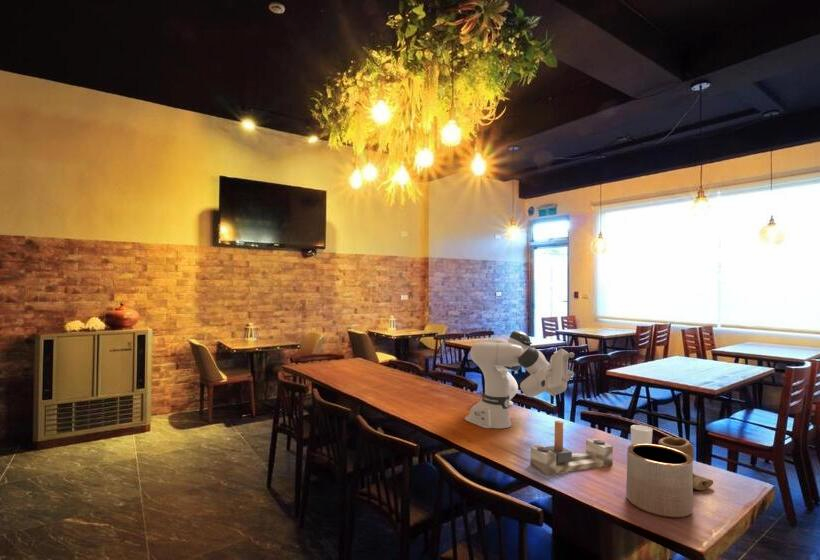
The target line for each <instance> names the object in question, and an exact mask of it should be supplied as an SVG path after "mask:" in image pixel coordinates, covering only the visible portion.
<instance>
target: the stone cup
mask: <svg viewBox="0 0 820 560" xmlns="http://www.w3.org/2000/svg"><path fill="white" fill-rule="evenodd" d="M657 445H661V446H666V447H670V448H673V449H676V450H679V451H681V452H684V453H686V454H687V455H689V456H690V457H691V458H692V460H693V461H694V457H695V453H694V451H695V450H694V447H693V445H692V443H691V441H689V440H688V439H686V438H684V437H673V436H665V437H662V438H660V439H659V440H658V442H657ZM713 484H714V480H712V479H709V478H707V477H704V476H700V475H698V474H694V473H693V490H697V491H704V490H707V489H709V488H711V486H712V485H713Z"/></svg>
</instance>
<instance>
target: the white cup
mask: <svg viewBox="0 0 820 560" xmlns="http://www.w3.org/2000/svg"><path fill="white" fill-rule="evenodd" d="M653 430H654V429H653V428H651V427H650V426H646V425H641V424H632V425H630V443H631V445H633V444H653V433H654V432H653Z"/></svg>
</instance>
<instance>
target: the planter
mask: <svg viewBox="0 0 820 560" xmlns="http://www.w3.org/2000/svg"><path fill="white" fill-rule="evenodd" d="M626 452H627V453H626V454H627V455H626V456H627V457H626V458H627V459H626V484H625V485H626V486H625V487H626V488H625V490H626V491H625V492H626V493H625V494H626V499H628V501H629V502H631V504H633V506H635V507H637V508H638V509H640V510H641V511H644V512H646V513H649V514H651V515H655V516H658V517H663V518H673V519H676V518H685V517H687V516H689V515H690V514H692V512H693V507H694V489H693V474H694V464H693V463H694V459H693V460H692V458H691V457H690V456H689V455H687V454H686V453H684V452H681V451H679V450H676V449H673V448H670V447H666V446H661V445H658V444H653V443H652V444H633V445H629V446H628V447H627V451H626Z"/></svg>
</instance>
